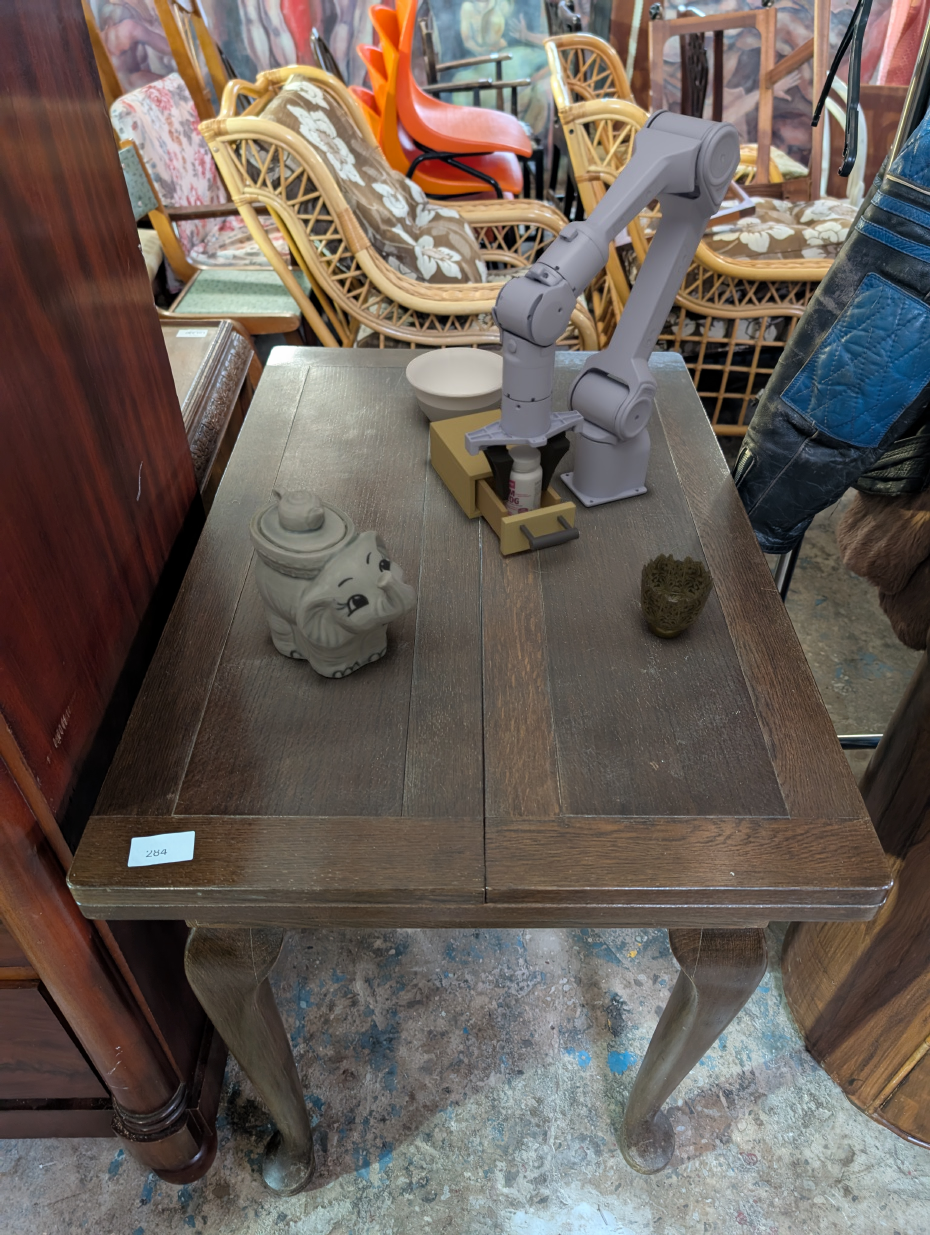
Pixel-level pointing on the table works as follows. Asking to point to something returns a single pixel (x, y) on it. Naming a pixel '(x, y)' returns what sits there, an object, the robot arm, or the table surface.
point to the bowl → (456, 382)
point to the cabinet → (461, 456)
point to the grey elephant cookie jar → (325, 583)
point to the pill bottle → (524, 480)
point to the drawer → (526, 519)
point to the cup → (673, 593)
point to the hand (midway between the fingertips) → (521, 491)
